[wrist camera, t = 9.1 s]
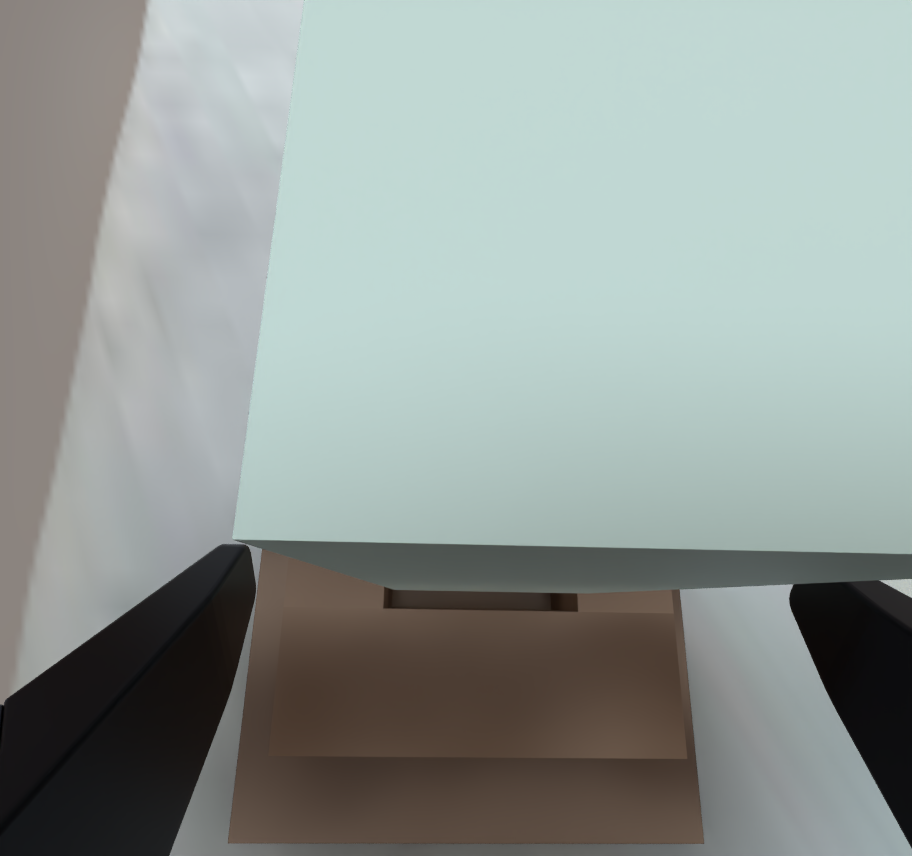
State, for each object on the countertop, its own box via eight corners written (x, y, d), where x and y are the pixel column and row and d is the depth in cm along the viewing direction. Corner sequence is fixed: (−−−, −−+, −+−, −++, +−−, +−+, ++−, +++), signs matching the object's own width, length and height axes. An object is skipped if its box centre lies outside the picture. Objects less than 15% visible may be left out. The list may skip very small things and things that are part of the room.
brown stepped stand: (696, 836, 20) (772, 904, 15) (233, 836, 19) (175, 906, 15) (647, 324, 26) (693, 266, 21) (294, 310, 25) (265, 248, 21)
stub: (587, 593, 15) (1279, 562, 3) (389, 589, 14) (201, 539, 3) (579, 440, 16) (1032, -43, 4) (396, 435, 16) (293, -92, 4)
